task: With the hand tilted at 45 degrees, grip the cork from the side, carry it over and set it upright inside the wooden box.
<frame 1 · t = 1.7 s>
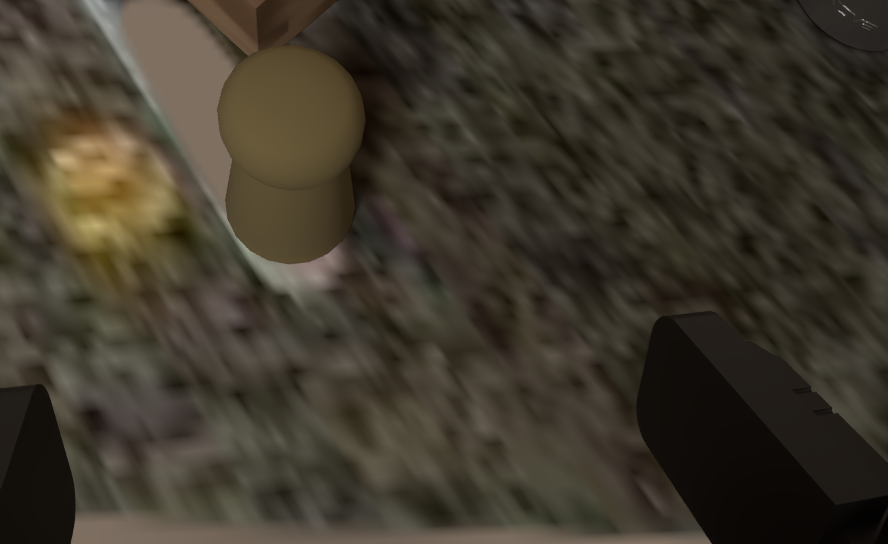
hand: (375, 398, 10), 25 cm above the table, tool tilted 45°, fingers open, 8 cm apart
cork: (291, 204, 37), on the table
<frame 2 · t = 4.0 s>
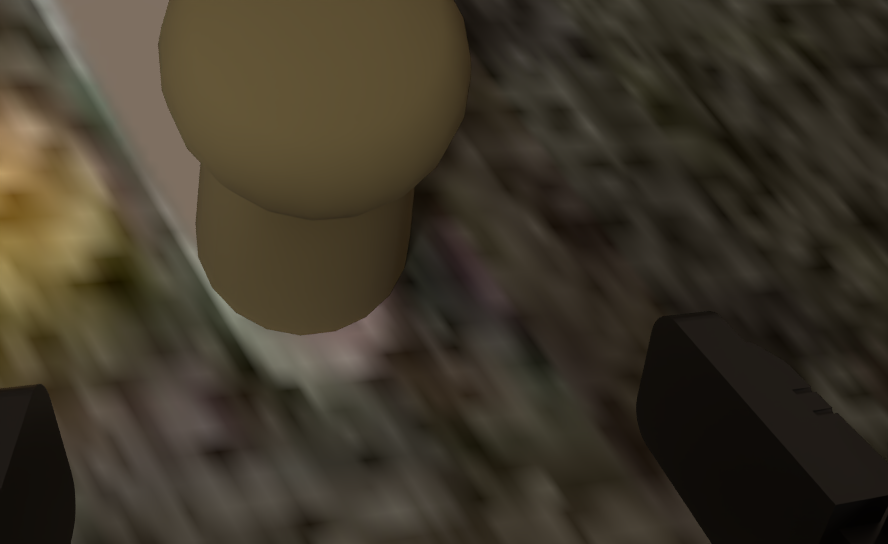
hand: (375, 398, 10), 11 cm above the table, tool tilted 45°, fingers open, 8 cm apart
cork: (305, 233, 22), on the table
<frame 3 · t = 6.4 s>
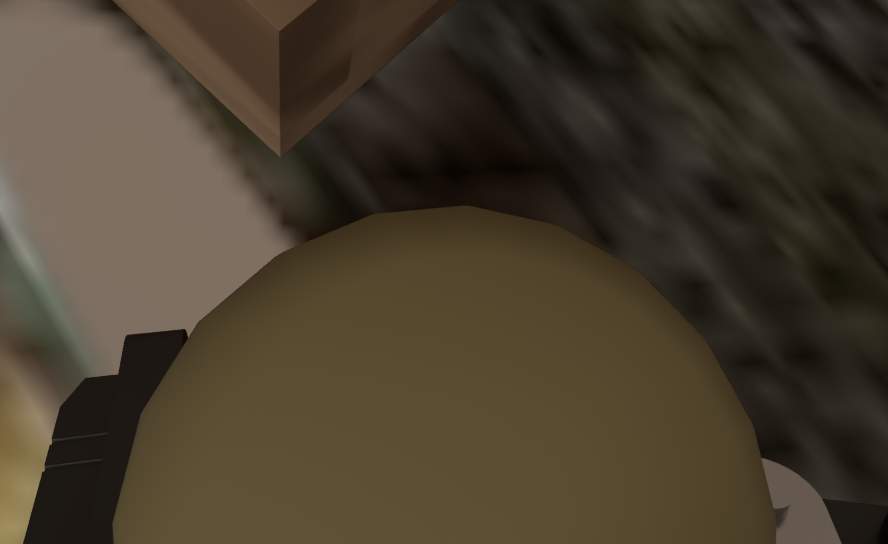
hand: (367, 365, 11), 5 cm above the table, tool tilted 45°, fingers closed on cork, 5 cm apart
cork: (352, 491, 15), on the table, touching gripper
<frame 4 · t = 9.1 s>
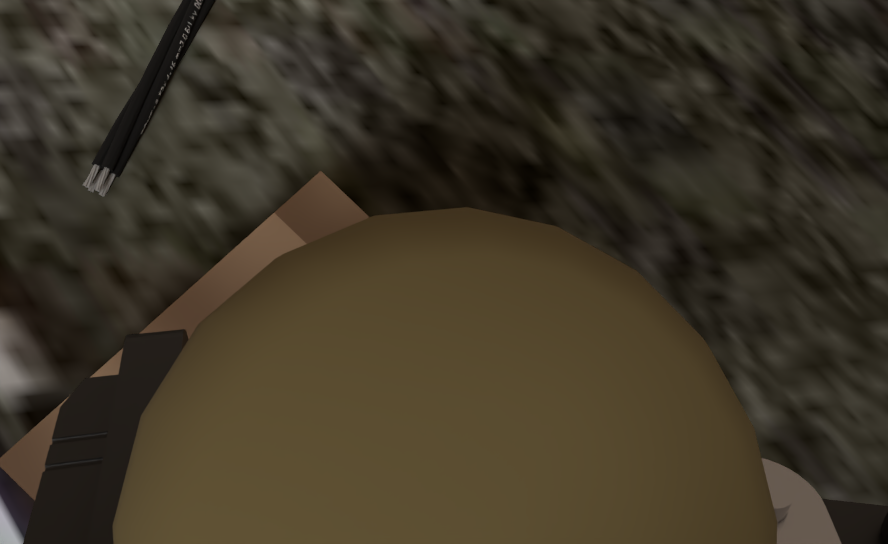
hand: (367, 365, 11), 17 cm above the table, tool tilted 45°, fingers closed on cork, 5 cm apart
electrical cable: (172, 62, 30), on the table
wooden box: (314, 453, 27), on the table
cork: (352, 492, 15), point 12 cm above the table, touching gripper
when the fingers open (7 cm above the table, at t = 12.0 s): cork drops 1 cm, resting on wooden box.
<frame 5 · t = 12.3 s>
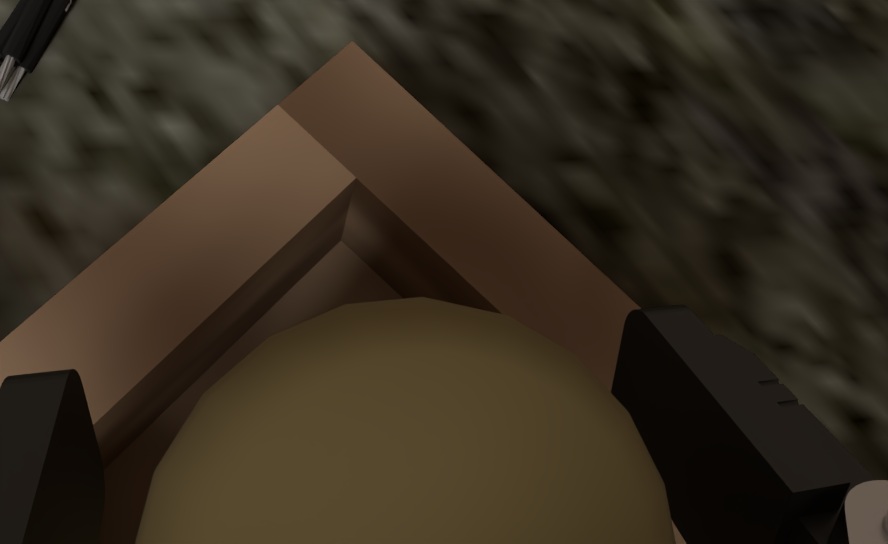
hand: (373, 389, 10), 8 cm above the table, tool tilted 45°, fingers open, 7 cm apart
wooden box: (343, 489, 18), on the table
cork: (340, 503, 17), point 1 cm above the table, touching wooden box
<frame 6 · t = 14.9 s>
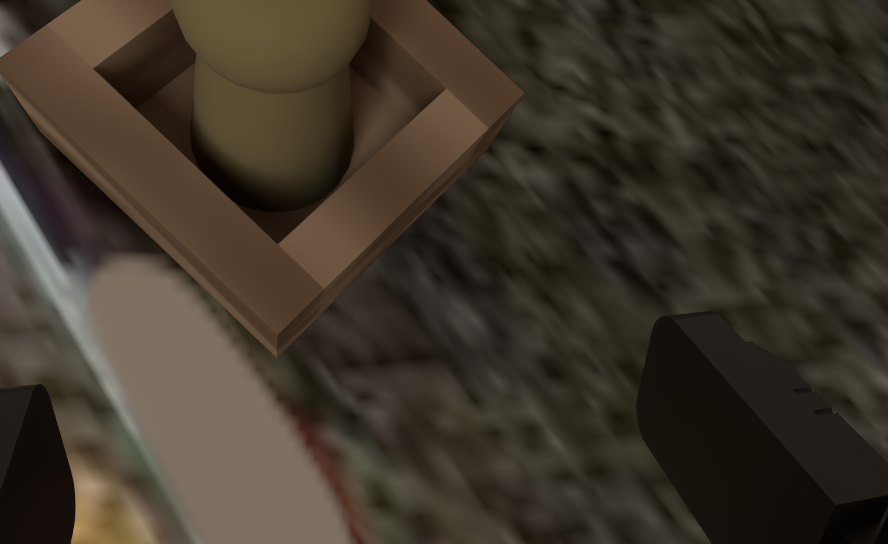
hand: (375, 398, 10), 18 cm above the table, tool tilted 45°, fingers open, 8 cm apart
wooden box: (277, 141, 30), on the table
cork: (274, 138, 29), point 1 cm above the table, touching wooden box
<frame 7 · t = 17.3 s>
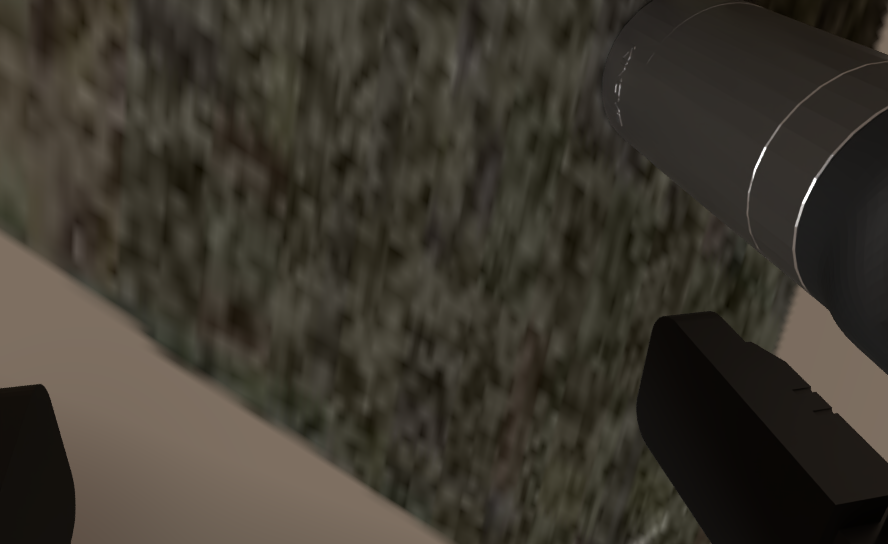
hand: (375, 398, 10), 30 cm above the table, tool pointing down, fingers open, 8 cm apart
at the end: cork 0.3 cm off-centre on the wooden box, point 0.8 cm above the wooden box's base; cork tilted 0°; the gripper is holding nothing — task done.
